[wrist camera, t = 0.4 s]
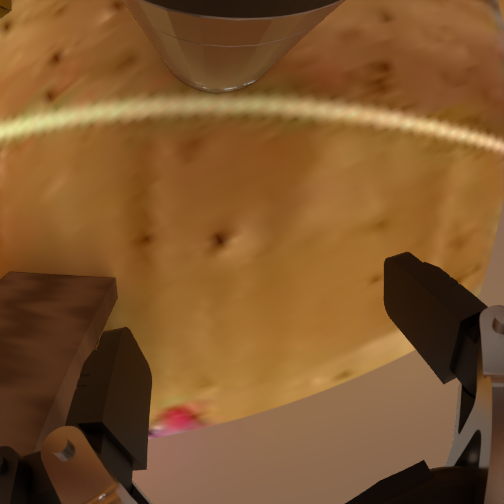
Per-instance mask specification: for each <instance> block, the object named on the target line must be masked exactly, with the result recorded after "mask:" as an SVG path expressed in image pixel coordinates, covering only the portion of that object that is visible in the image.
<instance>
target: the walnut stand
mask: <svg viewBox="0 0 504 504" xmlns="http://www.w3.org/2000/svg"><path fill="white" fill-rule="evenodd" d="M117 298H118V296H117V288H116V278H105V277H86V276H67V275H51V274H35V273H20V272H9V273H8V274H6V275H5V276H4V277H3V278H2V279H1V280H0V447H1V446H9V447H11V448H13V449H14V450H15V451H16V452H17V453H18V454H19V455H20V456H26V455H29V454H32V453H35V452H38V451H41V447H42V444H43V442H44V440H45V439H46V438H47V436H48V435H49V434H50V433H51V432H53V431H54V430H56V429H58V428H60V427H63V426H65V423H66V419H67V416H68V412H69V409H70V405H71V402H72V398H73V395H74V392H75V389H77V386H76V385H77V382H78V379H79V378H80V372H81V369H82V366H83V363H84V362H85V360H86V359H87V358H88V356H89V355H90V354H91V352H92V351H93V350H94V348H95V346H96V344H97V342H98V339H99V337H100V335H101V333H102V330H103V328H104V326H105V324H106V321H107V319H108V317H109V315H110V313H111V311H112V309H113V306H114V304H115V302H116V300H117Z"/></svg>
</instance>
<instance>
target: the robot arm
mask: <svg viewBox="0 0 504 504" xmlns="http://www.w3.org/2000/svg"><path fill="white" fill-rule="evenodd" d="M122 1H123V2H124V3H125V5H126V6H127V8H128V9H129V11H130V12H131V13H132V15H133V16H134V18H135V19H136V21H137V22H138V24H139V25H140V26H141V28H142V29H143V31H144V32H145V34H146V35H147V37H148V38H149V40H150V41H151V43H152V44H153V46H154V47H155V48H156V50H157V51H158V53H159V54H160V56H161V58H162V59H163V61H164V62H165V64H166V65H167V66H168V68H169V69H170V71H171V72H172V73H173V74H174V75H175V76H176V77H177V78H178V79H179V80H180V81H182V82H184V83H185V84H187V85H188V86H190V87H193V88H196V89H198V90H201V91H207V92H212V93H219V92H230V91H235V90H239V89H242V88H244V87H247V86H249V85H251V84H252V83H254V82H255V81H257V80H259V79H260V78H261V77H262V76H263V75H264V74H265V73H266V72H267V71H268V70H269V69H270V68H271V67H273V66H274V65H275V64H276V63H277V62H278V61H279V60H280V59H281V58H282V57H283V56H284V55H285V54H286V53H287V52H288V51H289V50H290V49H291V48H292V47H293V46H295V45H296V44H297V43H298V42H299V41H300V40H301V39H302V38H303V37H304V36H305V35H306V34H308V33H309V32H310V31H311V30H312V29H313V28H314V27H315V26H316V25H318V24H319V23H320V22H321V21H322V20H323V19H324V18H325V17H326V16H327V15H329V14H330V13H331V12H332V11H333V10H334V9H336V8H337V7H338V6H339V5H340V4H341V3H343V2H344V1H345V0H122ZM384 305H385V309H386V312H387V314H388V316H389V317H390V319H391V320H392V321H393V322H394V323H395V325H396V326H397V327H398V328H399V329H400V331H401V332H402V333H403V334H404V335H405V337H406V338H407V339H408V340H409V341H410V343H411V344H412V345H413V346H414V348H415V349H416V350H417V351H418V353H419V354H420V355H421V356H422V357H423V359H424V360H425V361H426V362H427V364H428V365H429V366H430V367H431V369H432V370H433V371H434V373H435V374H436V375H437V376H438V378H439V379H440V380H441V382H442V383H443V384H445V383H447V382H449V381H451V380H453V379H455V378H458V380H459V381H460V384H459V387H458V398H457V410H456V420H455V429H454V437H453V442H452V446H451V449H450V452H449V455H448V458H447V461H446V465H445V467H438V468H432V469H429V468H428V466H427V464H426V463H425V461H424V460H423V461H421V462H419V463H417V464H415V465H413V466H411V467H409V468H407V469H405V470H403V471H401V472H399V473H396V474H394V475H392V476H389V477H387V478H385V479H383V480H380V481H379V482H377V483H376V484H374V485H373V486H372V487H370V488H369V489H367V490H366V491H364V492H363V493H361V494H360V495H358V496H357V497H355V498H353V499H352V500H350V501H349V502H347V503H345V504H504V306H502V305H495V306H491V307H487V306H486V305H485V304H484V303H482V302H481V301H480V300H479V299H478V298H477V297H476V296H474V295H473V294H472V293H471V292H469V291H468V290H467V289H466V288H465V287H463V286H462V285H461V284H458V282H457V281H456V280H455V279H453V278H452V277H451V278H450V275H448V274H447V273H446V272H444V271H443V270H442V269H441V268H439V267H437V266H434V265H432V264H429V263H426V262H421V261H420V260H419V259H418V258H416V257H415V256H414V255H412V254H411V253H410V252H404V253H401V254H398V255H395V256H392V257H388V258H386V259H385V262H384ZM76 386H77V389H75V392H74V395H73V398H72V402H71V405H70V409H69V412H68V416H67V419H66V423H65V426H63V427H60V428H58V429H56V430H54V431H53V432H51V433H50V434H49V435H48V436H47V438H46V439H45V440H44V442H43V444H42V447H41V451H38V452H35V453H32V454H29V455H26V456H20V455H19V454H18V453H17V452H16V451H15V450H14V449H13V448H11V447H9V446H1V447H0V504H152V503H151V501H150V500H149V499H148V498H147V497H146V496H145V494H144V493H143V492H142V491H141V490H140V489H139V487H138V486H137V485H136V484H135V483H134V482H133V481H132V471H133V470H146V468H147V445H148V429H149V414H150V400H151V389H152V375H151V371H150V368H149V365H148V363H147V361H146V359H145V357H144V355H143V354H142V352H141V350H140V348H139V346H138V344H137V342H136V340H135V338H134V337H133V335H132V333H131V331H130V330H129V329H128V328H127V327H123V328H119V329H114V330H110V331H105V332H103V334H102V336H101V339H100V342H99V346H98V349H97V350H93V351H92V352H91V354H90V355H89V356H88V358H87V359H86V360H85V362H84V363H83V366H82V369H81V372H80V378H79V379H78V382H77V385H76Z"/></svg>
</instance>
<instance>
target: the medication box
mask: <svg viewBox="0 0 504 504" xmlns="http://www.w3.org/2000/svg"><path fill="white" fill-rule="evenodd" d="M11 10H12V9H11V0H0V18H2V17H3V16H5V15H6V14H8V13H9V12H10V11H11Z"/></svg>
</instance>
